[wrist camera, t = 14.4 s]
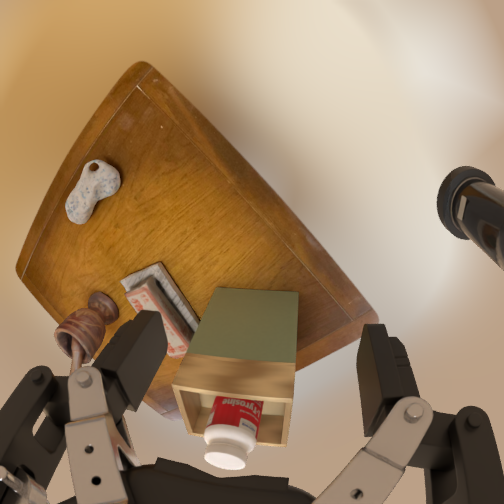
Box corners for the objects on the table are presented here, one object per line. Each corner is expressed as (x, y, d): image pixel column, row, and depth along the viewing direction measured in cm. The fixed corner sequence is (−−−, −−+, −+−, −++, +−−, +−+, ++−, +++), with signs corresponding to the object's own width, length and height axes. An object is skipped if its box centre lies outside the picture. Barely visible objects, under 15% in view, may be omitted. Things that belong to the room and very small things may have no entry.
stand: (298, 291, 49) (295, 362, 34) (294, 344, 54) (289, 415, 39) (216, 286, 51) (185, 352, 36) (221, 339, 56) (198, 405, 41)
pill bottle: (272, 387, 36) (261, 461, 26) (254, 409, 39) (240, 476, 29) (227, 370, 36) (205, 443, 26) (212, 394, 38) (191, 461, 29)
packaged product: (207, 355, 51) (165, 364, 55) (213, 338, 56) (173, 348, 59) (149, 273, 46) (109, 291, 49) (161, 259, 50) (122, 277, 53)
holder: (295, 362, 34) (293, 398, 29) (289, 415, 39) (286, 447, 34) (185, 352, 36) (171, 384, 31) (198, 405, 41) (188, 434, 36)
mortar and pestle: (139, 327, 58) (92, 398, 40) (116, 338, 61) (72, 403, 43) (102, 283, 55) (42, 347, 37) (82, 299, 58) (27, 358, 40)
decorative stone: (95, 230, 50) (79, 241, 45) (71, 206, 48) (54, 216, 44) (129, 175, 44) (112, 183, 40) (103, 150, 43) (84, 155, 39)
